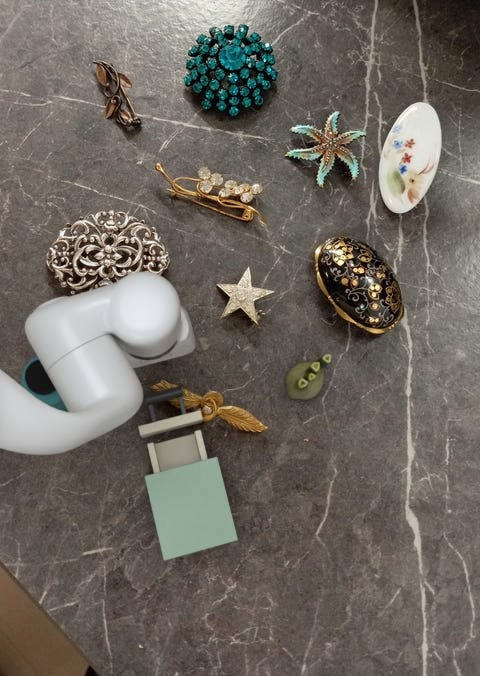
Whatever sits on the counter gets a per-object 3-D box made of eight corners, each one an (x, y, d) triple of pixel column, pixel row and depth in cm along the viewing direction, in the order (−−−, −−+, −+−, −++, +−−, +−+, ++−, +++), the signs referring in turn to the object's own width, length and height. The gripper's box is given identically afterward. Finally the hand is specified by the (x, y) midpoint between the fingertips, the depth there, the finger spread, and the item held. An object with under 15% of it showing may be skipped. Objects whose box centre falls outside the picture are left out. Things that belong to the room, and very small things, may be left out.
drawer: (133, 400, 122) (131, 396, 116) (192, 385, 123) (193, 380, 117) (156, 499, 119) (155, 500, 113) (216, 483, 120) (218, 483, 114)
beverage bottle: (97, 380, 123) (81, 362, 104) (72, 424, 122) (51, 414, 102) (55, 358, 124) (31, 335, 104) (30, 401, 122) (1, 386, 103)
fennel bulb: (316, 359, 126) (330, 347, 114) (328, 393, 125) (343, 384, 113) (277, 372, 125) (287, 361, 114) (288, 406, 124) (299, 398, 112)
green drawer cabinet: (147, 476, 121) (144, 476, 112) (215, 458, 122) (217, 456, 114) (165, 555, 118) (163, 560, 110) (234, 536, 119) (238, 540, 111)
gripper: (89, 375, 99) (104, 391, 116) (221, 341, 100) (216, 362, 118) (74, 309, 100) (91, 335, 118) (204, 277, 102) (202, 307, 120)
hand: (153, 348), depth 118 cm, fingers closed
